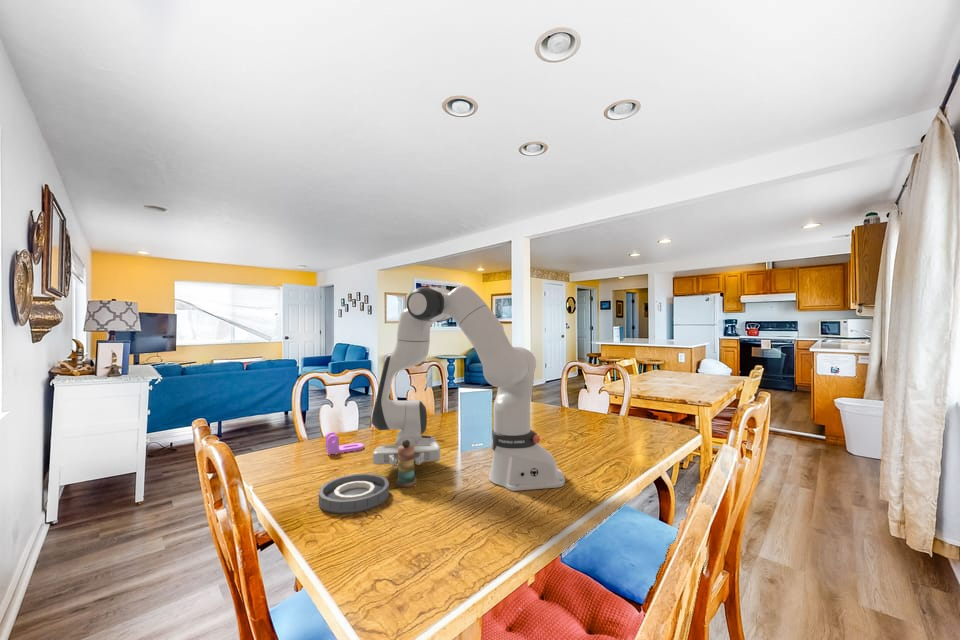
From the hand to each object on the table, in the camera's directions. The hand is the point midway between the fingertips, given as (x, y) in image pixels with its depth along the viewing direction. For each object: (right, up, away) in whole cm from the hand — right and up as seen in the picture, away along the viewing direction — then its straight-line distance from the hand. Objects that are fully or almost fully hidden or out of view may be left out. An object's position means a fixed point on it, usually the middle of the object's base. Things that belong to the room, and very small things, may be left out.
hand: (406, 462), depth 114 cm
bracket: (-28, -7, +32) cm, 43 cm away
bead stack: (0, -7, +1) cm, 7 cm away
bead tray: (-12, -7, -8) cm, 16 cm away
